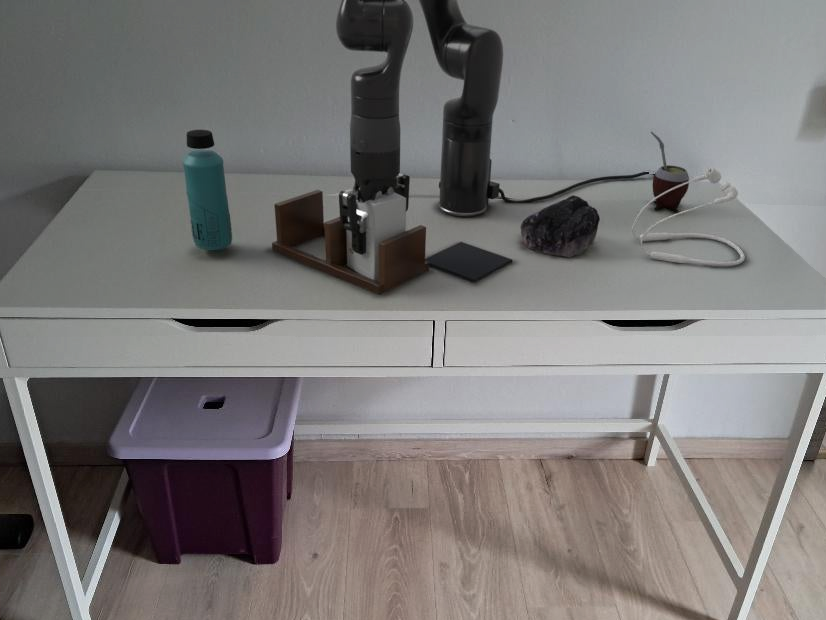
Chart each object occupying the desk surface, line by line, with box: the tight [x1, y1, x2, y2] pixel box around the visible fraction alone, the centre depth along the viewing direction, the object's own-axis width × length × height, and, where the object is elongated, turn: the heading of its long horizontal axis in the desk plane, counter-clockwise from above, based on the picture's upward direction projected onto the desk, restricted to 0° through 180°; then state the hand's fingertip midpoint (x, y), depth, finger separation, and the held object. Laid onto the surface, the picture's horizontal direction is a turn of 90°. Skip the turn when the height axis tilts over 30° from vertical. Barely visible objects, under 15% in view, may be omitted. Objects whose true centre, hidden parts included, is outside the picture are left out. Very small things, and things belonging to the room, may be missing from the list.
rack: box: [271, 189, 430, 296], centre depth 131 cm, size 12×24×8 cm, turn 52°
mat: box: [425, 241, 513, 284], centre depth 135 cm, size 11×11×1 cm
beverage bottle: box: [181, 129, 233, 251], centre depth 128 cm, size 6×7×20 cm
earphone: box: [631, 166, 746, 267], centre depth 142 cm, size 14×17×18 cm
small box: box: [345, 188, 407, 282], centre depth 127 cm, size 8×6×13 cm
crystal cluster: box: [520, 194, 601, 258], centre depth 141 cm, size 13×14×10 cm
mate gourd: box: [650, 131, 690, 214], centre depth 158 cm, size 8×8×15 cm
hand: (375, 245), depth 128 cm, fingers closed on small box, 7 cm apart
